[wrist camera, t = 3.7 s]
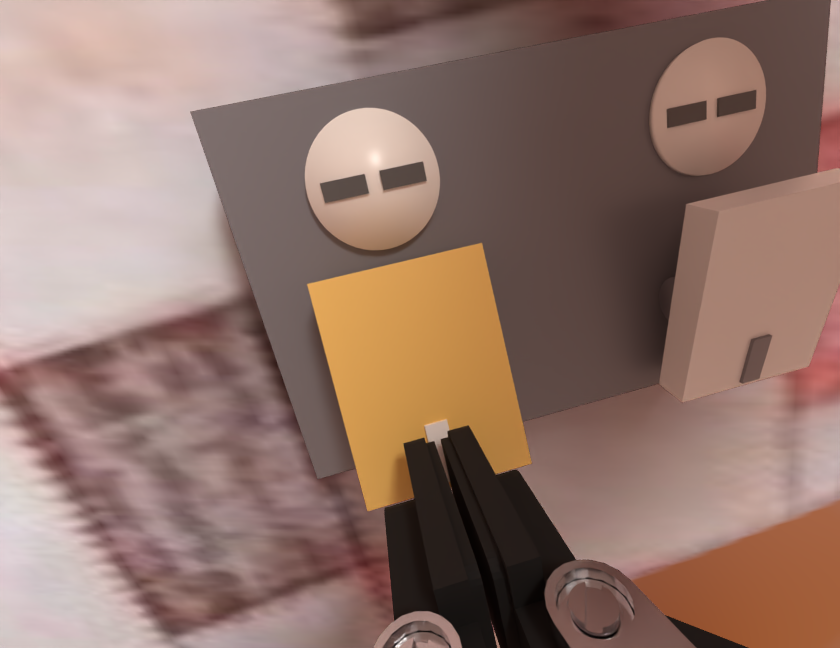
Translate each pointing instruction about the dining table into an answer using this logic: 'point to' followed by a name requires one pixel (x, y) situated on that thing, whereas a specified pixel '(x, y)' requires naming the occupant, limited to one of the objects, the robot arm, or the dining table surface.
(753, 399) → the dining table surface
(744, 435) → the dining table surface
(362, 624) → the dining table surface
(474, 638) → the robot arm
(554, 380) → the power strip
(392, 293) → the amber rocker
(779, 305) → the beige rocker
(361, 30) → the dining table surface
